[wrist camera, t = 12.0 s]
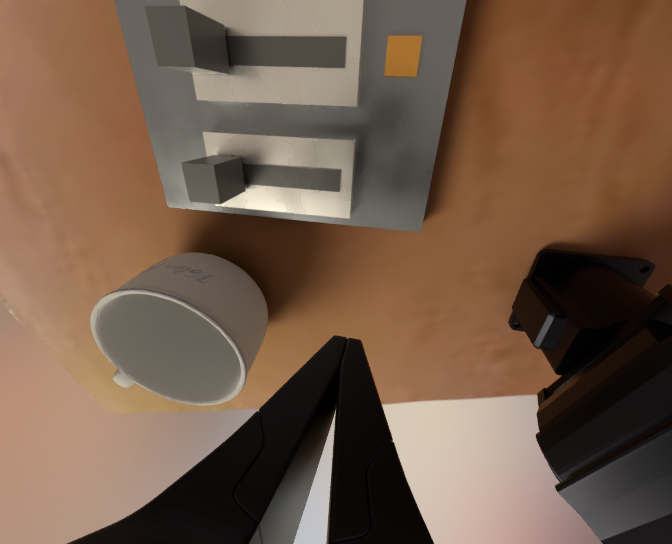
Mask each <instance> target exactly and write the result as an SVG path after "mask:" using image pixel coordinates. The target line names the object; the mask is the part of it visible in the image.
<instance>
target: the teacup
mask: <svg viewBox="0 0 672 544" xmlns="http://www.w3.org/2000/svg"><path fill="white" fill-rule="evenodd" d="M90 324H91V329H92V333H93V336H94V339H95V341H96V343H97V345H98V346H99V348H100V350H101V351H102V352H103V354H104V355H105V356H106V357H107V358H108V360H109V361H110V362H111V363H112V364H113V365H114V366H116V367H117V368H118V370H117V371H116V372H115V373H114V375H113V379H114V381H115V382H116V383H117V384H119V385H120V386H122V387H130V386H132V385H134V384H135V383H137V384H138V385H140V386H141V387H143V388H145V389H147V390H149V391H151V392H153V393H154V394H157V395H160V396H162V397H164V398H167V399H169V400H173V401H176V402H182V403H186V404H192V405H215V404H220V403H223V402H226V401H228V400H231V399H232V398H234V397H235V396H236V395H237V394H238V393H239V392H240V391H241V390H242V388H243V386H244V385H245V382H246V378H247V374H248V372H249V370H250V368H251V366H252V364H253V362H254V360H255V358H256V355H257V353H258V351H259V349H260V346H261V344H262V342H263V339H264V336H265V333H266V330H267V325H268V309H267V304H266V301H265V298H264V296H263V294H262V292H261V290H260V288H259V287H258V285H257V284H256V283H255V281H254V280H253V279H252V278H251V277H250V276H249V275H248V274H247V273H246V272H245V271H244V270H242V269H241V268H239V267H238V266H237V265H235V264H233V263H231V262H229V261H228V260H226V259H223V258H221V257H218V256H215V255H211V254H206V253H195V252H191V253H182V254H177V255H174V256H171V257H168V258H166V259H164V260H162V261H160V262H158V263H156V264H154V265H153V266H151V267H149V268H148V269H146V270H145V271H143V272H142V273H140V274H139V275H137V276H136V277H134V278H133V279H131V280H130V281H129V282H127V283H126V284H124V285H123V286H122V287H120V288H119V289H117V290H115V291H113V292H110V293H108V294H106V295H105V296H104V297H102V298H101V299H100V300H99V301H98V302H97V303H96V304H95V307H94V309H93V311H92V313H91V320H90Z"/></svg>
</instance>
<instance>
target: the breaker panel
mask: <svg viewBox="0 0 672 544" xmlns="http://www.w3.org/2000/svg"><path fill="white" fill-rule="evenodd" d="M114 1H115V5H116V9H117V13H118V16H119V20H120V24H121V28H122V32H123V36H124V40H125V43H126V47H127V51H128V55H129V59H130V63H131V67H132V70H133V74H134V78H135V82H136V86H137V90H138V94H139V97H140V101H141V105H142V109H143V113H144V117H145V120H146V124H147V128H148V132H149V136H150V140H151V144H152V147H153V151H154V155H155V159H156V163H157V167H158V171H159V174H160V178H161V182H162V186H163V190H164V194H165V198H166V201H167V205H168V207H174V208H184V209H193V210H203V211H213V212H223V213H233V214H243V215H253V216H262V217H272V218H282V219H292V220H302V221H312V222H322V223H332V224H341V225H351V226H361V227H371V228H381V229H391V230H401V231H410V232H420V233H421V230H422V225H423V220H424V215H425V210H426V204H427V199H428V194H429V189H430V184H431V179H432V174H433V169H434V164H435V159H436V153H437V148H438V143H439V138H440V133H441V128H442V123H443V118H444V113H445V108H446V102H447V97H448V92H449V87H450V82H451V77H452V72H453V67H454V62H455V57H456V51H457V46H458V41H459V36H460V31H461V26H462V21H463V16H464V11H465V6H466V0H114ZM145 6H187V7H189V8H191V9H193V10H195V11H197V12H199V13H201V14H203V15H205V16H207V17H209V18H211V19H213V20H215V21H217V22H219V23H221V24H223V25H224V28H225V36H226V44H227V52H228V61H229V69H230V75H222V74H197V73H191V72H186V71H180V70H175V69H169V68H164V67H159V66H158V65H157V60H156V56H155V51H154V47H153V42H152V38H151V33H150V29H149V24H148V20H147V15H146V11H145ZM211 155H222V156H237V157H242V163H243V172H244V180H245V189H246V191H245V192H243V193H241V194H239V195H237V196H235V197H234V198H232V199H230V200H228V201H226V202H224V203H222V204H209V203H199V202H190V201H189V197H188V192H187V188H186V183H185V178H184V174H183V169H182V165H181V163H182V162H186V161H190V160H194V159H198V158H203V157H207V156H211Z"/></svg>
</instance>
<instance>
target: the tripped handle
mask: <svg viewBox="0 0 672 544" xmlns="http://www.w3.org/2000/svg"><path fill="white" fill-rule="evenodd" d="M145 11H146V15H147V20H148V24H149V29H150V33H151V38H152V42H153V47H154V51H155V56H156V60H157V65H158V66H159V67H164V68H169V69H175V70H180V71H186V72H191V73H197V74H222V75H230V69H229V61H228V52H227V44H226V36H225V28H224V25H223V24H221V23H219V22H217V21H215V20H213V19H211V18H209V17H207V16H205V15H203V14H201V13H199V12H197V11H195V10H193V9H191V8H189V7H187V6H145Z"/></svg>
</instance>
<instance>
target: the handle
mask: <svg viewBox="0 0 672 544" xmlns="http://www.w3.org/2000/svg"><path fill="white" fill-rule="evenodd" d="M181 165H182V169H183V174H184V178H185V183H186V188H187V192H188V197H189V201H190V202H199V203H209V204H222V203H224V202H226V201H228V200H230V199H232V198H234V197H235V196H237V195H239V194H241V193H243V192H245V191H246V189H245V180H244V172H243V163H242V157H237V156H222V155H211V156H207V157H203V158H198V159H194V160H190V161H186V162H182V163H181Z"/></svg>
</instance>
